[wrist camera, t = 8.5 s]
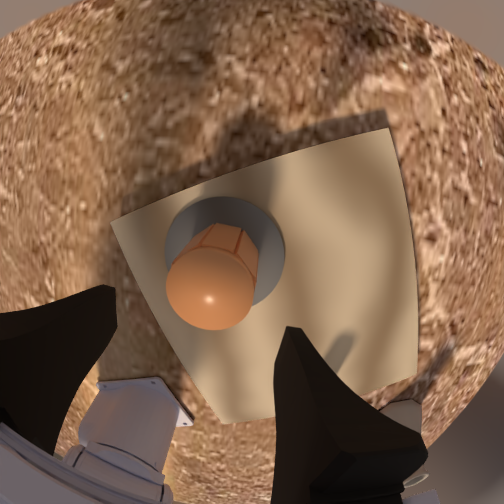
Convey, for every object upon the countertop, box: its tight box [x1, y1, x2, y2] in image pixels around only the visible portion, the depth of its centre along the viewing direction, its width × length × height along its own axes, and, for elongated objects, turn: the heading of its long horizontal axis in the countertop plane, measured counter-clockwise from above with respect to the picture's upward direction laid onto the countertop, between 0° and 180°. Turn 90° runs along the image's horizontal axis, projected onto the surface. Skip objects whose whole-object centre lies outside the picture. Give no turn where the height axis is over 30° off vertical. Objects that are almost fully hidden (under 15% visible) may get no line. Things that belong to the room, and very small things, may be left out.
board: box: [110, 128, 418, 424], centre depth 19 cm, size 20×22×6 cm
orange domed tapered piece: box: [166, 223, 259, 330], centre depth 16 cm, size 4×4×5 cm
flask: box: [380, 399, 430, 488], centre depth 21 cm, size 7×7×10 cm
